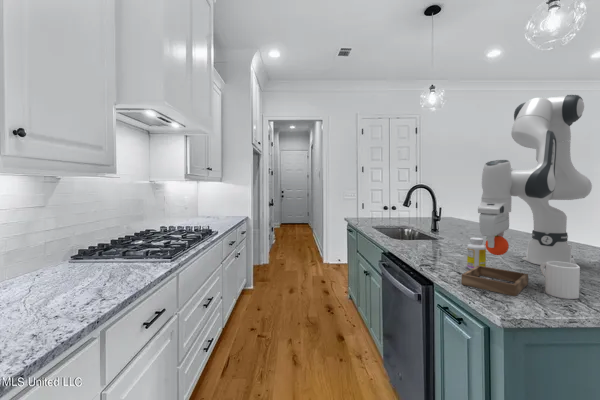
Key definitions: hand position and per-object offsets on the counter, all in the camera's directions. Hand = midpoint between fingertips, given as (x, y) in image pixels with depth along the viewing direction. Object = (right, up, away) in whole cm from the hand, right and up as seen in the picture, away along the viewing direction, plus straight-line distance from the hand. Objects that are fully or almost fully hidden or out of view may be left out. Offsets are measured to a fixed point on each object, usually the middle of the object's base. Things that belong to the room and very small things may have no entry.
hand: (495, 245), depth 106 cm
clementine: (0, -4, 0) cm, 4 cm away
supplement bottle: (+4, -13, +19) cm, 24 cm away
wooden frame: (0, -14, 0) cm, 14 cm away
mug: (+14, -14, -8) cm, 22 cm away
